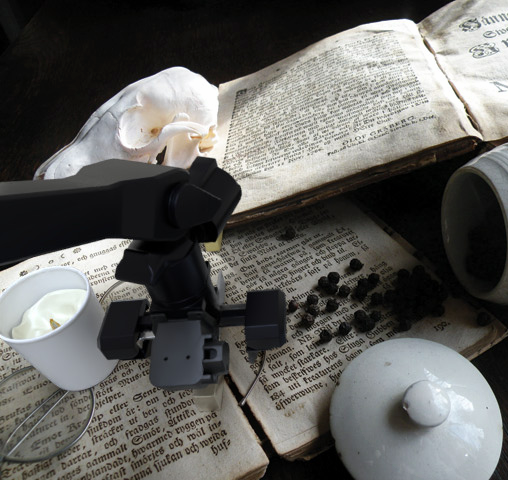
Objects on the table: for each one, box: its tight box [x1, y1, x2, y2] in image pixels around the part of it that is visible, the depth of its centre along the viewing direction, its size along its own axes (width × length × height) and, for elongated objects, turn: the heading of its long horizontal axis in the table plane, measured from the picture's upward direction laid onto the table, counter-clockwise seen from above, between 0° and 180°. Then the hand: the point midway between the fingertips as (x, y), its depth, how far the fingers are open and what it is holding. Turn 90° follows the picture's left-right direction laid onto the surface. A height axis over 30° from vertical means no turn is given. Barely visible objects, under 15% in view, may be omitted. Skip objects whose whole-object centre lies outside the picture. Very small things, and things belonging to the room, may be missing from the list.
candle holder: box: [0, 265, 120, 392], centre depth 53 cm, size 10×10×12 cm
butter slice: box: [203, 229, 224, 253], centre depth 71 cm, size 2×9×4 cm, turn 3°
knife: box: [191, 269, 227, 413], centre depth 57 cm, size 18×2×4 cm, turn 3°
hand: (213, 363), depth 55 cm, fingers open, 9 cm apart
